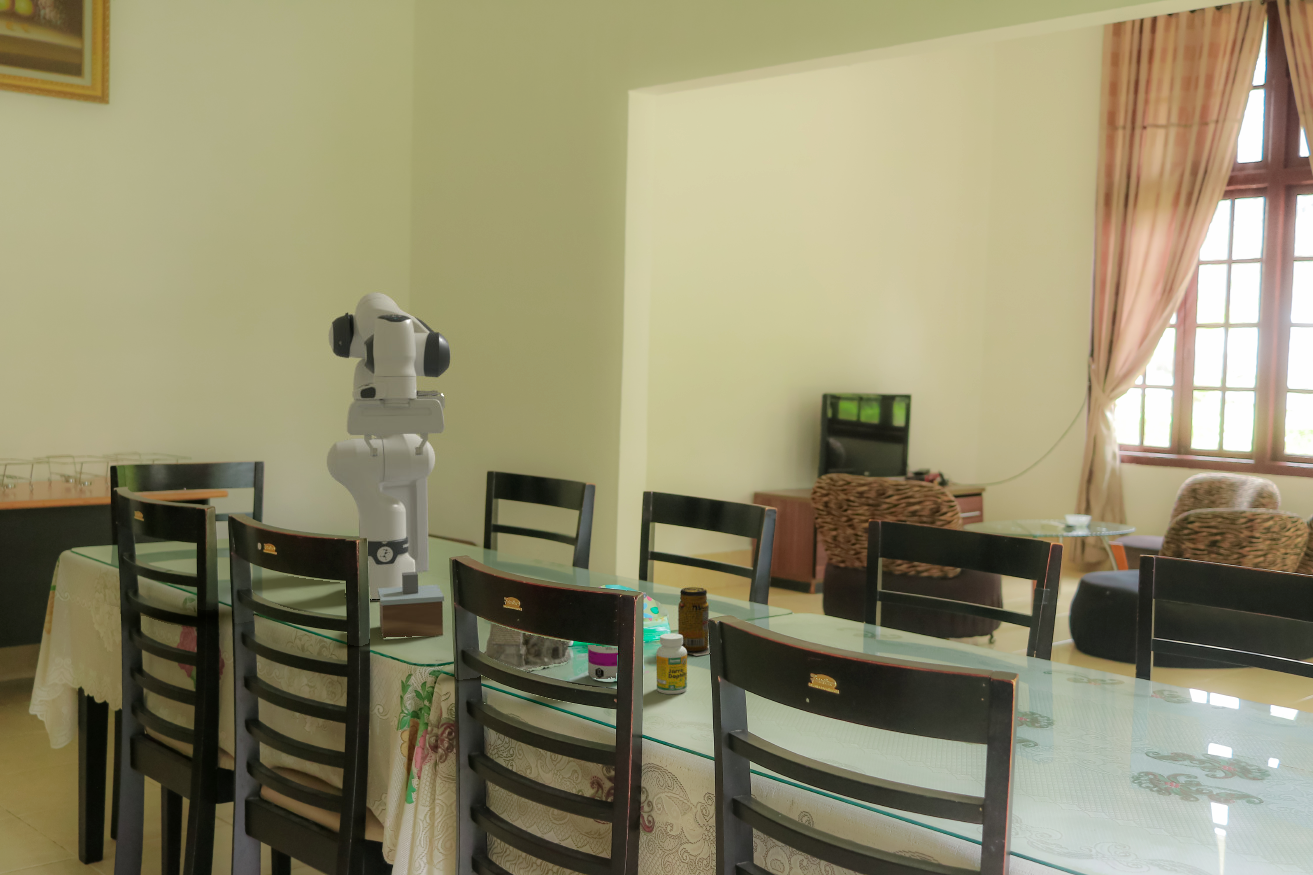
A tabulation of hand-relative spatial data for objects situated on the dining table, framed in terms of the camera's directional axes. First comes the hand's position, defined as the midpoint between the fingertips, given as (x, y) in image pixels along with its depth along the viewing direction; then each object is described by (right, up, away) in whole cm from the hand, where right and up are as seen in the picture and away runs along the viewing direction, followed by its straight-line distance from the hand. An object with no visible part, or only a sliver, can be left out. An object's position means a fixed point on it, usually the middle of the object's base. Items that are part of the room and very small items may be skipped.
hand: (396, 455), depth 228 cm
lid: (+4, -30, -3) cm, 30 cm away
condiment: (+63, -39, -15) cm, 76 cm away
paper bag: (-19, -33, +67) cm, 77 cm away
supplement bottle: (+58, -40, -42) cm, 82 cm away
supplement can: (+47, -40, -34) cm, 70 cm away
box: (+4, -38, -2) cm, 38 cm away
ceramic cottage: (+30, -39, -24) cm, 55 cm away
